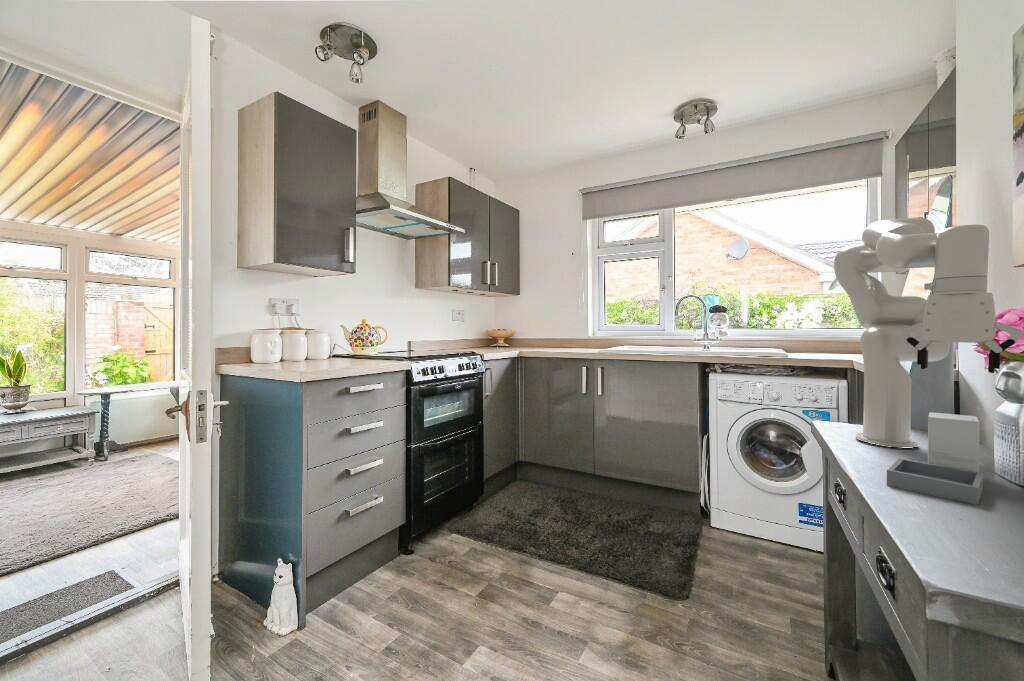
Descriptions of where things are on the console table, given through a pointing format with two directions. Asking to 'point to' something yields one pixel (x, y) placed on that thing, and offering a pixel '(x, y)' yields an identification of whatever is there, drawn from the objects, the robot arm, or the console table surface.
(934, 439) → the supplement box
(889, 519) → the console table surface
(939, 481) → the holder tray
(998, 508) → the console table surface
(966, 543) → the console table surface
